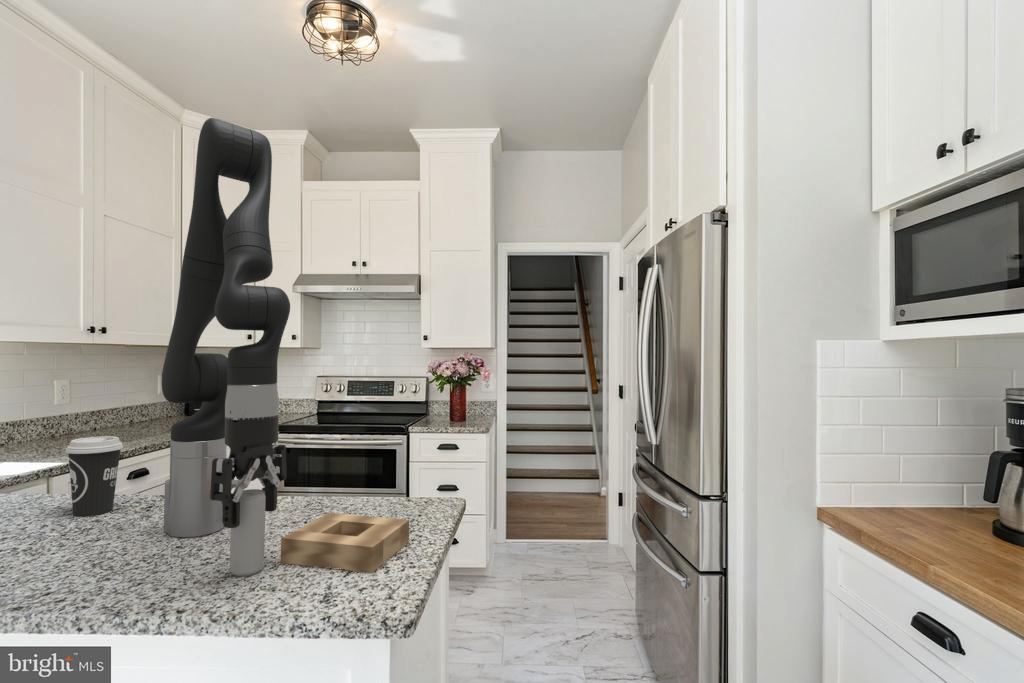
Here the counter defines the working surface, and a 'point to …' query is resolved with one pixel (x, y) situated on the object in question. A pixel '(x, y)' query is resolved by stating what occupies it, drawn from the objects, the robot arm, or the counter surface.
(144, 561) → the counter surface
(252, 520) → the beverage can
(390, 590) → the counter surface
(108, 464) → the coffee cup
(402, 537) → the socket
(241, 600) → the counter surface
